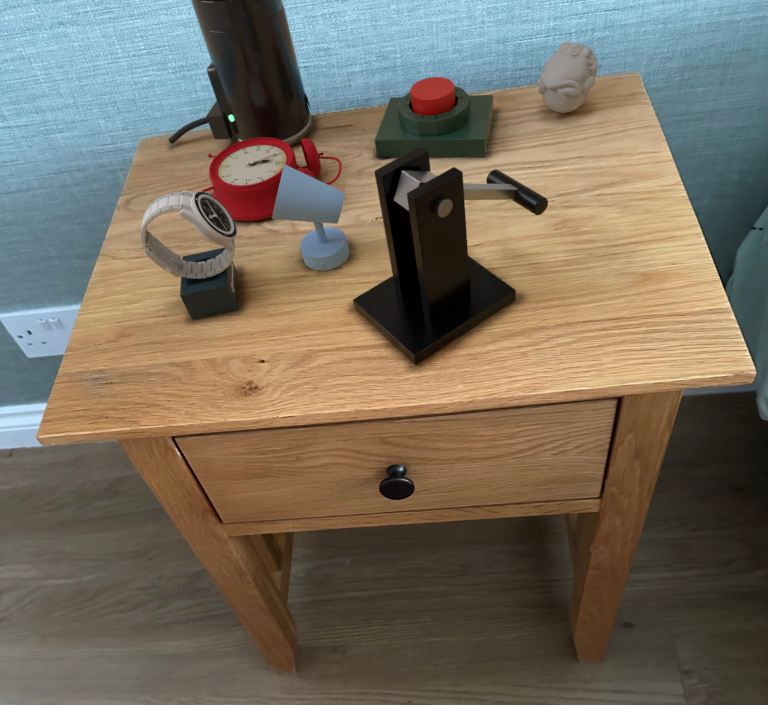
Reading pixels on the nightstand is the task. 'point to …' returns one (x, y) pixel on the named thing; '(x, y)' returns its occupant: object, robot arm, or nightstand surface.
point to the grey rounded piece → (568, 77)
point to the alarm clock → (258, 174)
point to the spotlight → (313, 217)
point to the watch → (201, 270)
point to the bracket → (428, 265)
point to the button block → (437, 128)
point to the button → (433, 96)
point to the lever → (478, 190)
